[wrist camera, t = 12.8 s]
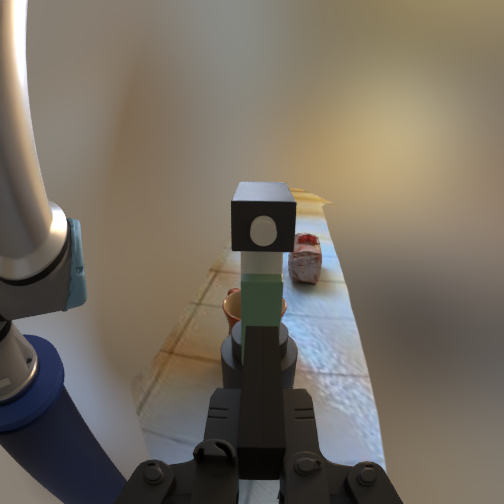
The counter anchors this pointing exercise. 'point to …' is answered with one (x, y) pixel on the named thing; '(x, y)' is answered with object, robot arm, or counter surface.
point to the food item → (305, 259)
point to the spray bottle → (261, 262)
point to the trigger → (260, 301)
